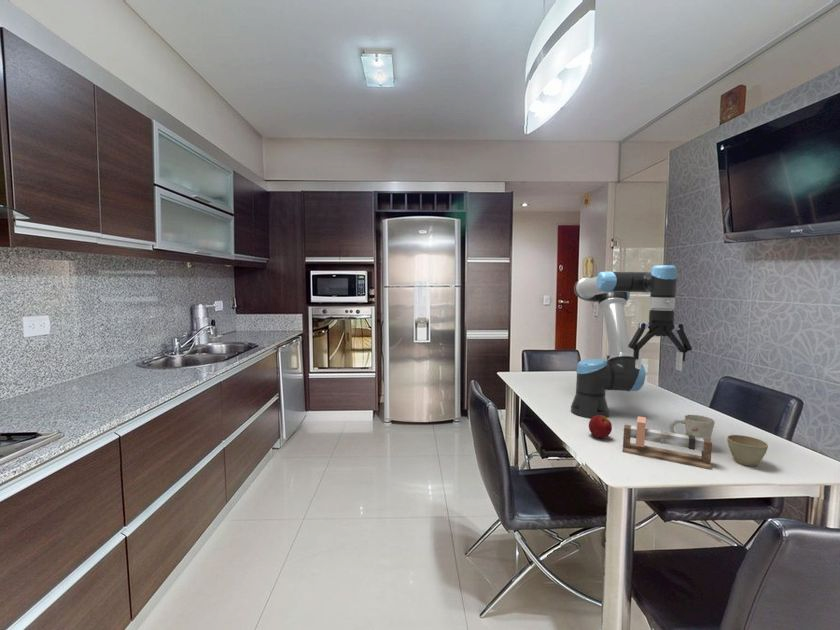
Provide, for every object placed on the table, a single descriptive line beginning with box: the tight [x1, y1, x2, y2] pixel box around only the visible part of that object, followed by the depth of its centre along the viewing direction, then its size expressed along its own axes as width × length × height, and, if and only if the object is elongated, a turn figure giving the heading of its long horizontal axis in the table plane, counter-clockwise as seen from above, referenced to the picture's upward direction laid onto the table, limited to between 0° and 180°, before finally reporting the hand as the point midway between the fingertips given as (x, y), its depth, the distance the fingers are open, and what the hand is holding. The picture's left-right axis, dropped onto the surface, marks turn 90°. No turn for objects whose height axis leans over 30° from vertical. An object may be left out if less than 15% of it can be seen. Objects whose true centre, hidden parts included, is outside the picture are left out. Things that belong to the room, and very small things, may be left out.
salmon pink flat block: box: [635, 415, 647, 447], centre depth 133 cm, size 2×7×8 cm, turn 150°
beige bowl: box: [726, 434, 769, 467], centre depth 125 cm, size 10×10×7 cm
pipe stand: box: [621, 424, 713, 470], centre depth 129 cm, size 24×8×8 cm, turn 60°
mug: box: [669, 414, 715, 440], centre depth 138 cm, size 8×13×10 cm, turn 58°
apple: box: [588, 415, 613, 439], centre depth 145 cm, size 8×8×8 cm
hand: (658, 369), depth 141 cm, fingers open, 13 cm apart
